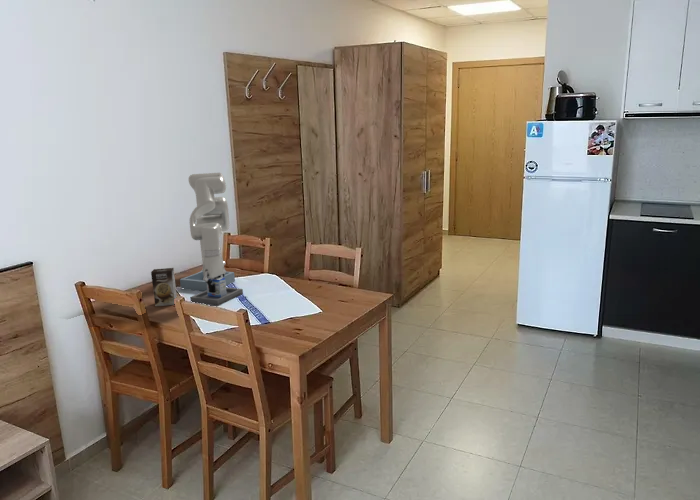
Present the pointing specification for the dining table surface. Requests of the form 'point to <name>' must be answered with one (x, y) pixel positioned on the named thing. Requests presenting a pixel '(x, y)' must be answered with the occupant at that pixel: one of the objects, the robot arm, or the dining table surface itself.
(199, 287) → the deep square frame
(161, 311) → the dining table surface
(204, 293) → the tray
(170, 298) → the coffee box
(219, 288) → the medicine box
